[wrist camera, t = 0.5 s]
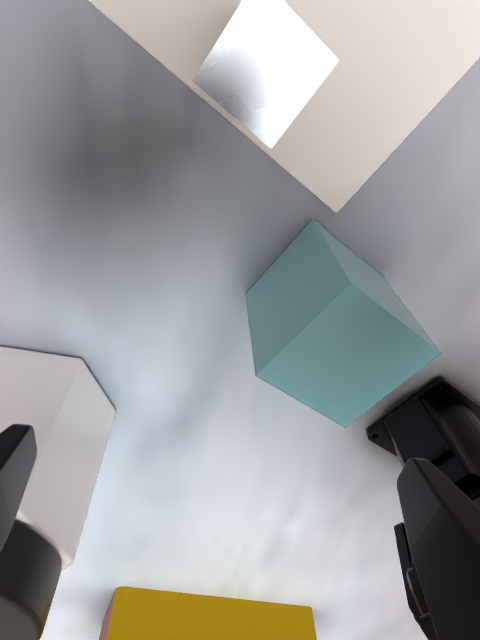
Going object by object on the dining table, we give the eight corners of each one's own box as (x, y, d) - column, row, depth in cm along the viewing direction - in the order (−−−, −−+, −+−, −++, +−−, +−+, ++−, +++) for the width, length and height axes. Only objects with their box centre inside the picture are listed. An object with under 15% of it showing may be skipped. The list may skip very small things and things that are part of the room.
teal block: (383, 276, 21) (441, 353, 16) (315, 340, 23) (345, 427, 18) (312, 218, 19) (351, 282, 14) (245, 293, 21) (255, 375, 16)
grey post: (295, 58, 16) (339, 60, 10) (252, 117, 17) (271, 149, 11) (242, 5, 15) (258, -26, 9) (200, 72, 16) (192, 80, 10)
